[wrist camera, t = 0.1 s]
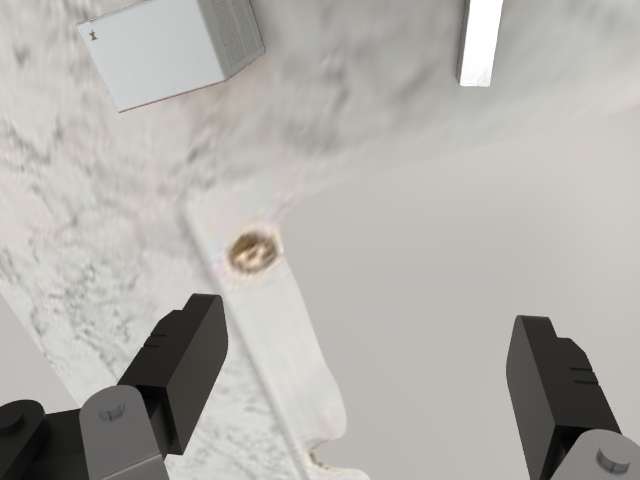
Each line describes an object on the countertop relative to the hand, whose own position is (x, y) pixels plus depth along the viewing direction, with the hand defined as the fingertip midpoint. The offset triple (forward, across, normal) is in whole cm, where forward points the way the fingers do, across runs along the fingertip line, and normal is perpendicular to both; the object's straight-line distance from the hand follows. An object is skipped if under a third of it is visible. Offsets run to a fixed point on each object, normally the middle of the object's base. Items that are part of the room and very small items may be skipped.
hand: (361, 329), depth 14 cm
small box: (+29, +14, -4) cm, 33 cm away
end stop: (+29, -6, -4) cm, 30 cm away
